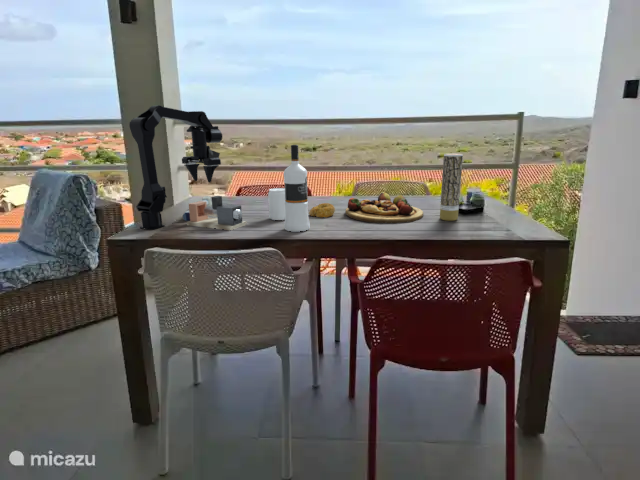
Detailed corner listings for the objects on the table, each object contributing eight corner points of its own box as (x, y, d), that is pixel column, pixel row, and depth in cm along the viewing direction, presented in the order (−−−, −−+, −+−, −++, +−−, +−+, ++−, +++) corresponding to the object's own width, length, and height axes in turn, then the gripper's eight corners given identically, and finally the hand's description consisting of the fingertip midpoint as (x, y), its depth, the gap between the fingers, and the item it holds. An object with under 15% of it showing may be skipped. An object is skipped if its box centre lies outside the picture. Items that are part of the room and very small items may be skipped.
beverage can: (265, 220, 163) (263, 190, 160) (276, 216, 170) (275, 187, 167) (282, 222, 160) (281, 191, 156) (293, 217, 167) (292, 188, 163)
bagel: (308, 213, 175) (308, 202, 174) (333, 212, 176) (333, 201, 174) (309, 218, 165) (309, 207, 164) (336, 217, 166) (336, 206, 165)
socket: (207, 218, 162) (206, 201, 160) (197, 221, 157) (195, 204, 155) (201, 217, 164) (199, 201, 162) (190, 221, 158) (188, 203, 157)
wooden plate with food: (338, 222, 159) (338, 201, 156) (351, 205, 189) (352, 187, 186) (423, 227, 152) (424, 205, 149) (423, 209, 181) (424, 191, 179)
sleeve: (242, 222, 155) (241, 205, 153) (233, 225, 150) (231, 208, 148) (227, 220, 158) (226, 204, 156) (218, 224, 153) (216, 206, 151)
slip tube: (242, 218, 153) (241, 197, 151) (236, 220, 150) (235, 199, 147) (210, 214, 159) (208, 195, 157) (204, 216, 156) (202, 196, 154)
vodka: (289, 225, 154) (286, 144, 145) (313, 227, 151) (311, 143, 143) (280, 232, 145) (277, 145, 137) (305, 233, 143) (303, 145, 134)
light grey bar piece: (180, 212, 163) (202, 193, 186) (182, 227, 166) (205, 207, 188) (192, 212, 163) (213, 193, 185) (195, 227, 165) (216, 207, 188)
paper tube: (458, 221, 156) (464, 154, 149) (440, 221, 157) (444, 154, 150) (456, 217, 162) (461, 153, 155) (438, 217, 163) (443, 153, 157)
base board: (247, 224, 157) (246, 221, 156) (230, 230, 148) (230, 227, 148) (204, 219, 166) (204, 216, 165) (186, 225, 157) (186, 222, 157)
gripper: (230, 143, 168) (232, 181, 172) (201, 142, 179) (204, 178, 183) (207, 144, 159) (210, 184, 163) (179, 143, 170) (183, 180, 174)
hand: (202, 181), depth 171 cm, fingers open, 9 cm apart
